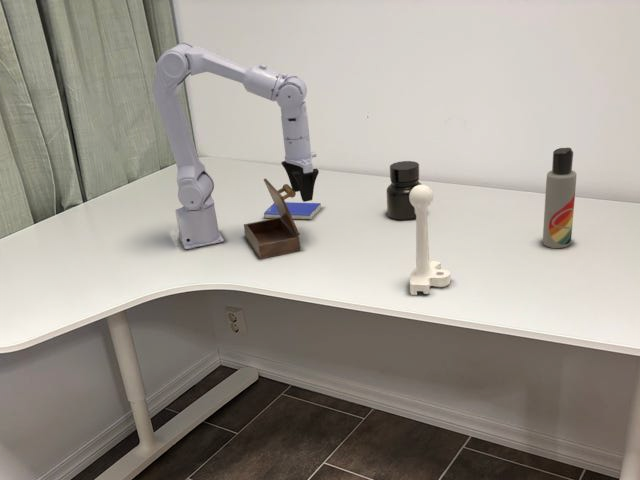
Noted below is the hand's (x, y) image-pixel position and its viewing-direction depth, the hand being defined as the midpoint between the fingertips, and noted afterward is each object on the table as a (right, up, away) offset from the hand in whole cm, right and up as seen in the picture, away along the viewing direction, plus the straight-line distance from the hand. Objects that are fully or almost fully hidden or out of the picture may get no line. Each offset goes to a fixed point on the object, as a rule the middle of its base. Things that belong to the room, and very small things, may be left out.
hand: (302, 195), depth 177 cm
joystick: (+25, -23, -23) cm, 41 cm away
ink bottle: (+25, -2, +11) cm, 27 cm away
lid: (-5, -3, 0) cm, 6 cm away
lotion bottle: (+53, -13, -14) cm, 57 cm away
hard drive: (-2, 0, +20) cm, 20 cm away
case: (-7, -10, +3) cm, 13 cm away
